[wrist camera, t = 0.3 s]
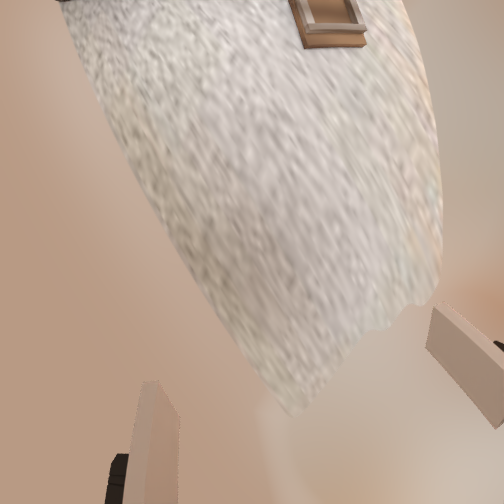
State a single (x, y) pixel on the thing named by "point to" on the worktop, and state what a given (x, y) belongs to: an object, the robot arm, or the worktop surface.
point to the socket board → (329, 23)
